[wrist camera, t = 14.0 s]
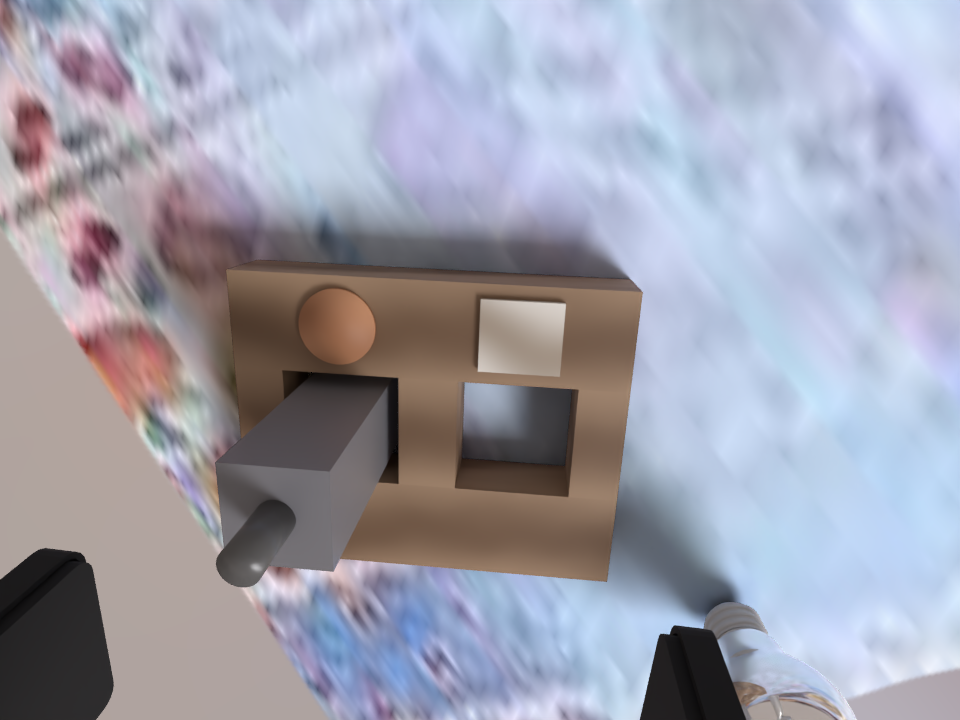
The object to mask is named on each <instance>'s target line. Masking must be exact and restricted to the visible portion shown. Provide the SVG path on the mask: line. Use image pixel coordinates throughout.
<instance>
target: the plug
mask: <svg viewBox="0 0 960 720" xmlns="http://www.w3.org/2000/svg"><path fill="white" fill-rule="evenodd" d="M397 443H398V378H394V377H378V376H363V375H348V374H332V373H317V372H314V373H313V374H312V375H311V376H310V377H309V378H308V379H306V380H305V381H304V382H303V383H302V384H301V385H300V386H299V387H298V388H297V389H295V390H294V391H293V392H292V393H291V394H290V395H289V396H288V397H287V398H286V399H284V400H283V401H282V402H281V403H280V404H279V405H278V406H277V407H276V408H275V409H273V410H272V411H271V412H270V413H269V414H268V415H267V416H266V417H265V418H264V419H263V420H261V421H260V422H259V423H258V424H257V425H256V426H255V427H254V428H253V429H252V430H250V431H249V432H248V433H247V434H246V435H245V436H244V437H243V438H242V439H241V440H239V441H238V442H237V443H236V444H235V445H234V446H233V447H232V448H231V449H230V450H228V451H227V452H226V453H225V454H224V455H223V456H222V457H221V458H220V459H219V460H217V461H216V462H215V465H216V475H217V485H218V494H219V504H220V514H221V524H222V533H223V543H224V549H223V550H222V551H221V552H220V554H219V555H218V557H217V560H216V566H217V570H218V572H219V574H220V576H221V577H222V578H223V579H224V580H225V581H226V582H228V583H230V584H231V585H234V586H237V587H250V586H253V585H254V584H256V583H257V582H258V581H259V580H260V578H261V577H262V575H263V574H264V572H265V571H266V569H267V568H268V566H277V567H288V568H299V569H310V570H321V571H332V572H333V571H334V569H335V567H336V565H337V563H338V561H339V559H340V557H341V555H342V553H343V551H344V549H345V547H346V545H347V543H348V541H349V539H350V537H351V535H352V533H353V531H354V529H355V527H356V525H357V523H358V521H359V519H360V517H361V515H362V513H363V511H364V509H365V507H366V505H367V503H368V501H369V499H370V497H371V495H372V493H373V491H374V489H375V487H376V485H377V483H378V481H379V479H380V477H381V475H382V473H383V471H384V469H385V467H386V465H387V463H388V461H389V459H390V457H391V455H392V453H393V451H394V449H395V447H396V445H397Z"/></svg>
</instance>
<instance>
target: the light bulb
mask: <svg viewBox="0 0 960 720" xmlns="http://www.w3.org/2000/svg"><path fill="white" fill-rule="evenodd" d="M704 629H708V630H711V631H713V632H714V634H715V636H716V638H717V641H718V644H719V647H720V649H721V652H722V655H723V657H724V660H725V663H726V666H727V668H728V671H729V674H730V676H731V679H732V682H733V685H734V687H735V690H736V693H737V695H738V698H739V701H740V704H741V706H742V709H743V712H744V714H745V717H746V720H857V719H856V717H855V715H854V713H853V711H852V709H851V707H850V706H849V704H848V702H847V701H846V699H845V698H844V697H843V695H842V694H841V693H840V691H839V690H838V689H837V688H836V687H835V686H834V685H833V684H832V683H831V682H830V681H829V680H828V679H827V678H826V677H825V676H824V675H822V674H821V673H820V672H819V671H817V670H816V669H814V668H813V667H811V666H810V665H808V664H806V663H805V662H803V661H801V660H799V659H797V658H795V657H793V656H791V655H789V654H787V653H785V652H784V651H783V649H782V648H781V646H780V645H779V644H778V643H777V642H776V641H775V640H774V639H773V638H772V637H770V636H769V635H768V632H767V630H766V629H765V627H764V625H763V623H762V621H761V619H760V617H759V615H758V614H757V612H756V611H755V610H754V609H752V608H751V607H749V606H747V605H744V604H741V603H736V602H725V603H721V604H719V605H717V606H715V607H714V608H713V609H712V610H711V611H710V612H709V613H708V615H707V616H706V619H705V623H704Z"/></svg>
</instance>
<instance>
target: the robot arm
mask: <svg viewBox="0 0 960 720" xmlns="http://www.w3.org/2000/svg"><path fill="white" fill-rule="evenodd" d="M113 686H114V685H113V676H112V671H111V665H110V660H109V654H108V649H107V644H106V639H105V633H104V627H103V622H102V617H101V611H100V606H99V600H98V595H97V589H96V584H95V579H94V574H93V569H92V566H91V565H90V564H89V563H86V560H85V557H84V556H83V555H82V554H81V553H78V552H72V551H64V550H55V549H47V548H44V549H40V550H38V551H36V552H35V553H33V554H32V555H30V556H29V557H28V558H27V559H25V560H24V561H23V562H22V563H20V564H19V565H18V566H17V567H16V568H14V569H13V570H12V571H10V572H9V573H8V574H7V575H5V576H4V577H3V578H2V579H1V580H0V720H96V719H97V718H98V716H99V715H100V714H101V712H102V711H103V710H104V708H105V707H106V705H107V704H108V702H109V700H110V698H111V695H112V692H113ZM640 720H746V717H745V714H744V712H743V709H742V706H741V704H740V701H739V698H738V695H737V693H736V690H735V687H734V685H733V682H732V679H731V676H730V674H729V671H728V668H727V666H726V663H725V660H724V657H723V655H722V652H721V649H720V647H719V644H718V641H717V638H716V636H715V634H714V632H713V631H711V630H708V629H700V628H692V627H684V626H673V628H672V629H671V632H670V635H668V634H660V636H659V638H658V642H657V646H656V651H655V655H654V660H653V664H652V669H651V673H650V677H649V682H648V686H647V691H646V695H645V699H644V704H643V708H642V713H641V717H640Z"/></svg>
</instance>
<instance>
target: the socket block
mask: <svg viewBox="0 0 960 720" xmlns="http://www.w3.org/2000/svg"><path fill="white" fill-rule="evenodd" d="M226 275H227V287H228V298H229V309H230V320H231V331H232V342H233V354H234V365H235V376H236V387H237V398H238V409H239V421H240V432H241V439H242V438H243V437H244V436H245V435H246V434H247V433H248V432H249V431H250V430H252V429H253V428H254V427H255V426H256V425H257V424H258V423H259V422H260V421H261V420H263V419H264V418H265V417H266V416H267V415H268V414H269V413H270V412H271V411H272V410H273V409H275V408H276V407H277V406H278V405H279V404H280V403H281V402H282V401H283V400H284V399H286V398H287V397H288V396H289V395H290V394H291V393H292V392H293V391H294V390H295V389H297V388H298V387H299V386H300V385H301V384H302V383H303V382H304V381H305V380H306V379H308V372H317V373H332V374H348V375H363V376H378V377H394V378H398V389H399V454H397V453H392V455H391V457H390V459H389V461H388V463H387V465H386V467H385V469H384V471H383V473H382V475H381V477H380V479H379V481H378V483H377V485H376V487H375V489H374V491H373V493H372V495H371V497H370V499H369V501H368V503H367V505H366V507H365V509H364V511H363V513H362V515H361V517H360V519H359V521H358V523H357V525H356V527H355V529H354V531H353V533H352V535H351V537H350V539H349V541H348V543H347V545H346V547H345V549H344V551H343V553H342V555H341V557H340V559H350V560H362V561H373V562H385V563H396V564H408V565H419V566H431V567H442V568H454V569H465V570H477V571H488V572H500V573H512V574H523V575H535V576H546V577H558V578H569V579H581V580H592V581H604V582H607V577H608V569H609V561H610V553H611V544H612V536H613V528H614V520H615V512H616V504H617V496H618V488H619V480H620V472H621V464H622V456H623V448H624V439H625V431H626V423H627V415H628V407H629V399H630V391H631V383H632V375H633V367H634V359H635V351H636V342H637V334H638V326H639V318H640V310H641V302H642V294H643V292H642V291H641V290H640V289H639V288H638V287H637V286H636V285H635V283H634V282H633V281H632V280H631V279H612V278H593V277H575V276H556V275H537V274H518V273H499V272H480V271H461V270H442V269H423V268H404V267H385V266H366V265H347V264H328V263H309V262H290V261H271V260H255V261H252V262H249V263H246V264H242V265H239V266H236V267H233V268H230V269H226ZM464 382H470V383H485V384H501V385H516V386H531V387H546V388H562V389H572V395H571V405H570V416H569V427H568V438H567V449H566V460H565V466H559V465H545V464H532V463H518V462H505V461H491V460H478V459H464V458H462V442H463V412H464Z"/></svg>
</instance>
